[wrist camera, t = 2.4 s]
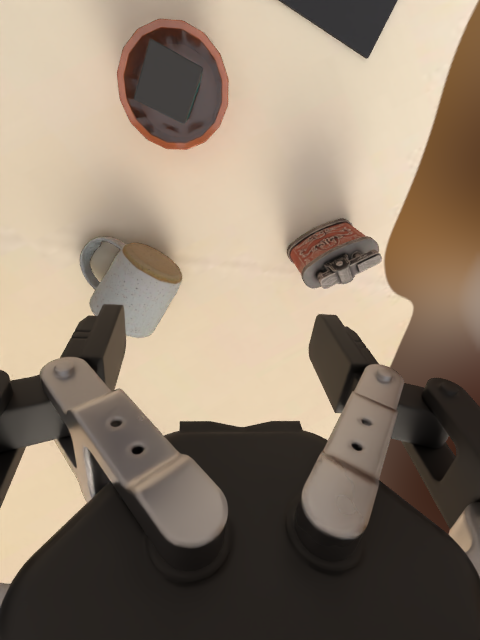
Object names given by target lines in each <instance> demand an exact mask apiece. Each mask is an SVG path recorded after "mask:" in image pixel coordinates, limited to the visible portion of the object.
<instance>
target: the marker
mask: <svg viewBox="0 0 480 640" xmlns="http://www.w3.org/2000/svg"><path fill="white" fill-rule="evenodd" d="M202 73H203V67H201V66H200V65H198V64H196V63H194V62H192V61H191V60H189V59H187V58H185V57H183V56H182V55H180V54H178V53H176V52H175V51H173V50H171V49H169V48H167V47H166V46H164V45H162V44H160V43H158V42H157V41H155V40H153V39H150V40H149V43H148V47H147V51H146V55H145V58H144V62H143V66H142V69H141V73H140V77H139V81H138V84H137V88H136V92H135V95H134V99H135V100H136V101H138V102H140V103H142V104H144V105H146V106H148V107H150V108H152V109H154V110H156V111H158V112H160V113H162V114H164V115H166V116H168V117H170V118H172V119H174V120H176V121H178V122H180V123H182V124H185V123H186V121H187V120H188V119H189V116H190V113H191V110H192V107H193V104H194V101H195V98H196V95H197V92H198V89H199V86H200V83H201V78H202Z"/></svg>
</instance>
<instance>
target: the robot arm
mask: <svg viewBox="0 0 480 640" xmlns="http://www.w3.org/2000/svg"><path fill="white" fill-rule="evenodd" d="M125 349H126V329H125V312H124V306H123V305H116V304H103V306H102V308H101V310H100V312H99V314H98V316H87V317H86V318H85V319H83V320H82V321H80V322H79V324H78V326H77V328H76V329H75V332H74V333H73V335H72V338H71V339H70V341H69V342H68V344H67V346H66V348H65V350H64V352H63V353H62V355H61V357H60V358H59V359H56V360H53V361H51V362H49V363H47V364H46V365H45V366H44V367H43V368H42V369H41V371H40V375H37V376H33V377H29V378H23V379H18V380H12V381H10V378H9V375H8V374H7V373H6V372H4V371H2V370H0V508H1V505H2V503H3V501H4V498H5V496H6V493H7V491H8V489H9V486H10V484H11V481H12V479H13V477H14V474H15V472H16V469H17V467H18V465H19V462H20V460H21V458H22V455H23V453H24V450H25V448H26V446H30V445H34V444H38V443H42V442H46V441H50V440H54V441H55V443H56V444H57V446H58V448H59V449H60V451H61V453H62V454H63V456H64V458H65V459H66V461H67V463H68V464H69V466H70V468H71V469H72V471H73V473H74V474H75V476H76V478H77V480H78V482H79V485H80V488H81V491H82V493H83V496H84V498H85V500H86V502H87V504H86V505H85V506H84V507H83V508H81V509H80V510H79V511H78V512H77V513H76V514H75V515H74V516H73V517H72V518H71V519H70V520H69V521H68V522H67V523H66V524H65V525H64V526H63V527H62V528H61V529H60V530H58V531H57V532H56V533H55V534H54V535H53V536H52V537H51V538H50V539H49V540H48V541H47V542H46V543H45V544H44V545H43V546H42V547H41V548H40V549H39V550H38V551H37V552H35V553H34V554H33V555H32V556H31V557H30V559H29V560H28V561H27V562H26V563H25V564H24V565H23V567H22V568H21V569H20V571H19V572H18V573H17V575H16V576H15V578H14V579H13V581H12V583H11V584H4V583H0V640H480V407H479V406H478V405H477V403H476V402H475V401H474V400H473V399H472V398H471V397H470V396H469V395H468V393H467V392H466V391H465V390H464V389H463V388H462V387H460V386H459V385H457V384H455V383H453V382H451V381H448V380H446V379H441V378H432V379H429V380H428V382H427V384H426V386H425V388H423V387H419V386H415V385H410V384H406V383H404V379H403V377H402V376H401V375H400V374H399V373H398V372H397V371H395V370H393V369H391V368H389V367H387V366H384V365H379V364H378V362H377V361H376V359H375V358H374V357H373V355H372V354H371V353H370V351H369V350H368V348H366V346H365V344H364V343H363V342H362V340H361V339H360V337H359V336H358V335H357V333H355V332H354V331H353V330H351V329H350V328H349V327H344V325H343V324H342V322H341V321H340V319H339V318H338V317H337V316H336V315H325V314H319V315H318V316H317V317H316V320H315V324H314V328H313V332H312V336H311V340H310V343H309V357H310V360H311V362H312V364H313V366H314V368H315V371H316V373H317V375H318V377H319V379H320V381H321V384H322V386H323V388H324V390H325V392H326V394H327V396H328V399H329V401H330V403H331V405H332V407H333V409H334V412H335V413H341V415H340V417H339V419H338V421H337V423H336V425H335V427H334V429H333V431H332V433H331V435H330V437H329V439H328V440H326V439H324V438H322V437H320V436H318V435H316V434H313V433H310V432H307V431H303V430H302V427H301V424H300V421H270V422H266V423H261V424H257V425H252V426H248V427H236V426H231V425H226V424H221V423H216V422H211V421H180V431H177V432H173V433H170V434H167V435H165V436H163V435H162V433H161V432H160V431H159V430H158V429H157V428H156V427H155V426H154V424H153V423H152V422H151V421H150V420H149V419H148V418H147V417H146V416H145V414H144V413H143V412H142V411H141V410H140V409H139V408H138V407H137V406H136V404H135V403H134V402H133V401H132V400H131V399H130V398H129V397H128V396H127V394H126V393H125V392H124V391H123V390H121V389H116V390H114V389H115V386H116V382H117V379H118V375H119V372H120V368H121V365H122V361H123V358H124V354H125ZM448 436H450V438H451V439H452V441H453V442H454V444H455V446H456V453H457V454H456V457H455V455H454V454H453V452H452V451H451V449H450V448H449V447H448V445H447V444H446V440H447V438H448ZM390 438H392V439H396V440H400V441H402V443H403V445H404V447H405V448H406V450H407V452H408V454H409V456H410V457H411V459H412V461H413V463H414V465H415V467H416V469H417V470H418V472H419V474H420V476H421V478H422V479H423V481H424V483H425V485H426V487H427V488H428V490H429V492H430V494H431V496H432V497H433V499H434V501H435V503H436V505H437V506H438V508H439V510H440V512H441V513H442V515H443V517H444V519H445V521H446V522H447V524H448V526H449V528H450V531H449V535H448V534H447V533H446V532H445V531H443V530H442V529H441V528H440V527H438V526H437V525H436V524H435V523H433V522H432V521H431V520H429V519H428V518H427V517H426V516H424V515H423V514H422V513H420V512H419V511H418V510H417V509H415V508H414V507H413V506H411V505H410V504H409V503H408V502H406V501H405V500H404V499H402V498H401V497H400V496H399V495H397V494H396V493H395V492H394V491H392V490H391V489H390V488H389V487H387V486H386V485H385V484H383V483H382V482H381V481H379V477H380V474H381V470H382V467H383V463H384V459H385V456H386V452H387V449H388V445H389V442H390Z"/></svg>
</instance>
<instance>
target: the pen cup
mask: <svg viewBox="0 0 480 640" xmlns="http://www.w3.org/2000/svg"><path fill="white" fill-rule="evenodd" d="M150 39H153V40H155V41H157V42H158V43H160V44H162V45H164V46H166V47H167V48H169V49H171V50H173V51H175V52H176V53H178V54H180V55H182V56H183V57H185V58H187V59H189V60H191V61H192V62H194V63H196V64H198V65H200V66H201V67H203V73H202V78H201V83H200V86H199V89H198V92H197V95H196V98H195V101H194V104H193V107H192V110H191V113H190V116H189V119H188V120H187V121H186V123H185V124H182V123H180V122H178V121H176V120H174V119H172V118H170V117H168V116H166V115H164V114H162V113H160V112H158V111H156V110H154V109H152V108H150V107H148V106H146V105H144V104H142V103H140V102H138V101H136V100H135V99H134V95H135V92H136V88H137V84H138V81H139V77H140V73H141V69H142V66H143V62H144V58H145V55H146V51H147V47H148V43H149V40H150ZM117 79H118V88H119V97H120V101H121V103H122V105H123V107H124V109H125V112H126V114H127V116H128V118H129V120H130V122H131V123H132V125H133V126H134V127H135V128H136V129H137V130H138V131H139V132H140V133H141V134H142V135H143V136H144V137H145V138H146V139H148V140H149V141H151V142H153V143H155V144H157V145H160V146H162V147H164V148H166V149H183V150H187V149H190V148H192V147H194V146H197V145H199V144H201V143H204V142H205V141H207V140H208V139H209V137H210V136H211V135H212V134H213V133H214V132H215V131H216V130H217V129H218V128H219V126H220V124H221V122H222V119H223V116H224V114H225V111H226V109H227V106H228V76H227V73H226V70H225V67H224V64H223V61H222V58H221V55H220V53H219V52H218V50H217V49H216V48H215V46H214V45H213V44H212V42H211V41H210V40H209V38H208V37H207V36H206V35H205V34H204V33H203V32H202V31H200V30H198V29H197V28H195V27H193V26H191V25H190V24H188V23H186V22H185V21H182V20H171V19H157V20H155V21H153V22H151V23H149V24H147V25H144V26H142V27H140V28H138V29H137V30H136V32H135V33H134V34H133V36H132V37H131V38H130V40H129V41H128V42H127V43H126V45H125V46H124V47H123V50H122V54H121V58H120V63H119V67H118V71H117Z"/></svg>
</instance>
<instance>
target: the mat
mask: <svg viewBox="0 0 480 640" xmlns="http://www.w3.org/2000/svg"><path fill="white" fill-rule="evenodd" d="M279 1H281V2H282V3H284V4H285V5H287V6H288V7H290V8H291V9H293V10H294V11H296V12H297V13H299V14H300V15H302V16H303V17H305V18H306V19H308V20H309V21H311V22H312V23H314V24H315V25H317V26H318V27H320V28H321V29H323V30H324V31H326V32H327V33H329V34H330V35H332V36H333V37H335V38H336V39H338V40H339V41H341V42H342V43H344V44H345V45H347V46H348V47H350V48H351V49H353V50H354V51H356V52H357V53H359V54H360V55H362V56H363V57H365V58H368V57H369V55H370V53H371V51H372V49H373V47H374V45H375V43H376V41H377V40H378V38H379V36H380V34H381V32H382V30H383V28H384V26H385V24H386V22H387V20H388V18H389V16H390V14H391V12H392V10H393V8H394V6H395V4H396V2H397V0H279Z"/></svg>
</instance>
